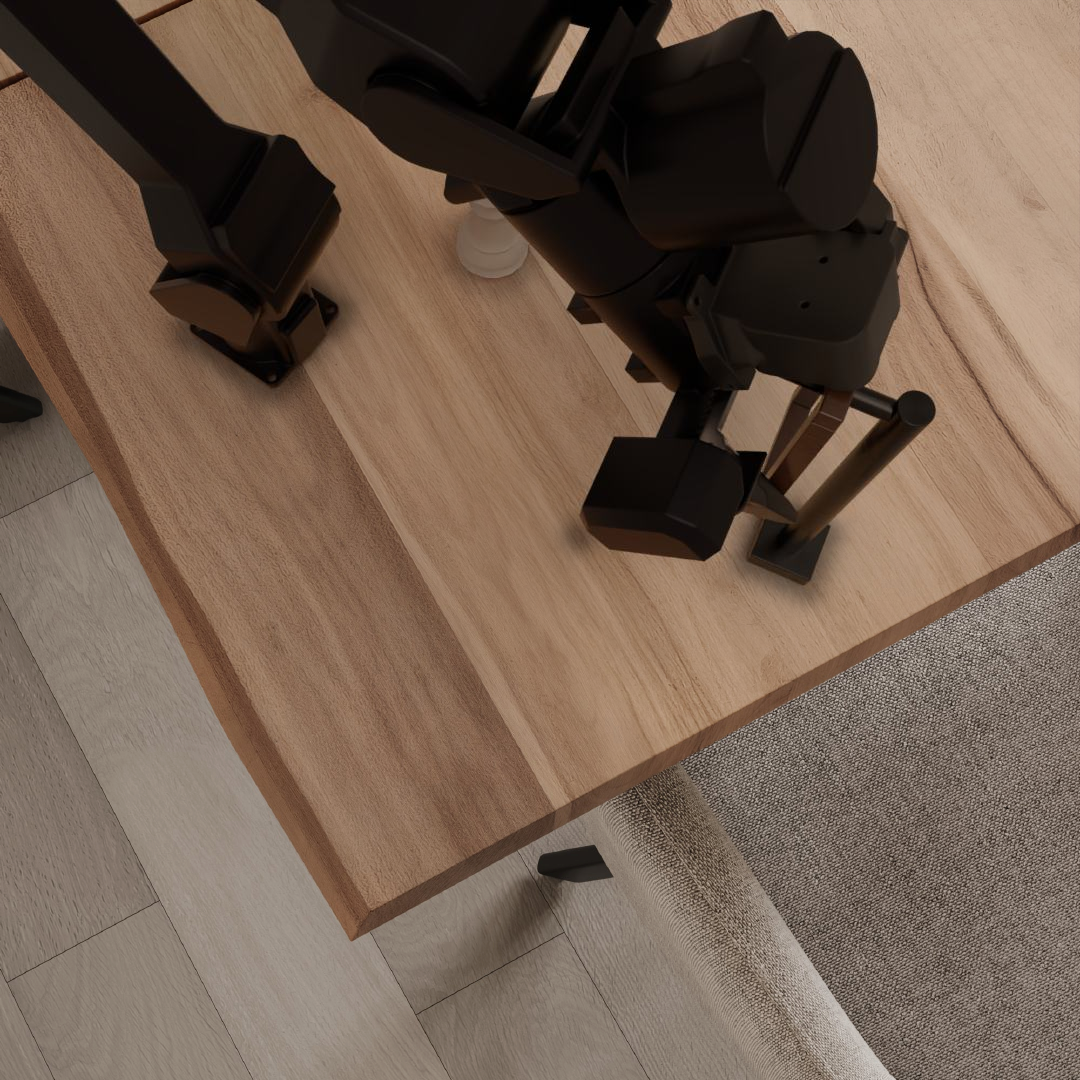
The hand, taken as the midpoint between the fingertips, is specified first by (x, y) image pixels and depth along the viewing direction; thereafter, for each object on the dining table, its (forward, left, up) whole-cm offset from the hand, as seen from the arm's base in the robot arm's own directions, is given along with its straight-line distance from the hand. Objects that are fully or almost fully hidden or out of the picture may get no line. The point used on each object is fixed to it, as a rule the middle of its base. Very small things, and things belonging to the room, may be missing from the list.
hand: (814, 455), depth 51 cm
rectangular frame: (-1, 0, -2) cm, 2 cm away
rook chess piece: (-23, +6, -13) cm, 27 cm away
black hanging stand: (0, 0, -12) cm, 12 cm away
